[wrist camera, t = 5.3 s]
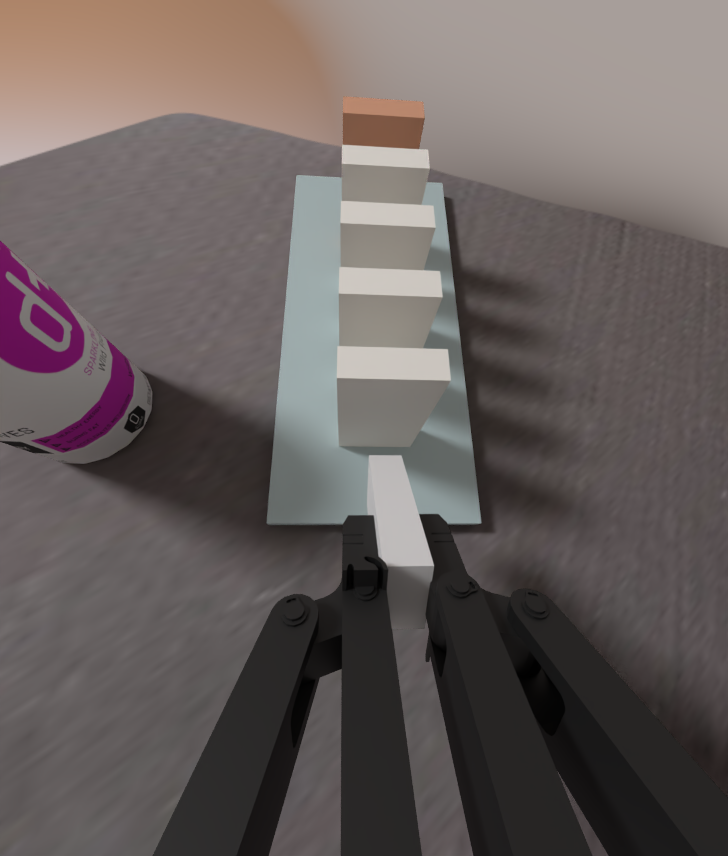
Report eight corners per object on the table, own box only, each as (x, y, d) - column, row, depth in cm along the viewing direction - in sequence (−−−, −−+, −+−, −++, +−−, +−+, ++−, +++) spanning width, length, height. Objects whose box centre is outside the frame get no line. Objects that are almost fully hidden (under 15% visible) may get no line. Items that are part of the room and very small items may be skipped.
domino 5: (339, 424, 25) (337, 346, 16) (408, 425, 25) (447, 349, 16) (338, 446, 25) (336, 378, 15) (409, 447, 25) (450, 380, 16)
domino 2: (342, 274, 30) (342, 144, 20) (401, 276, 30) (427, 149, 21) (341, 289, 29) (341, 163, 20) (401, 292, 30) (429, 168, 20)
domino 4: (340, 368, 27) (339, 267, 17) (405, 370, 27) (440, 270, 18) (339, 388, 26) (338, 293, 17) (406, 389, 26) (442, 297, 17)
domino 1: (343, 234, 31) (343, 96, 22) (399, 237, 32) (423, 101, 22) (342, 248, 31) (343, 112, 21) (399, 250, 31) (424, 118, 22)
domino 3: (341, 319, 28) (340, 200, 19) (403, 321, 29) (433, 205, 19) (341, 336, 28) (340, 222, 18) (404, 338, 28) (435, 227, 19)
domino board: (439, 195, 35) (442, 183, 34) (475, 524, 24) (481, 523, 23) (298, 187, 35) (296, 175, 34) (270, 525, 24) (266, 523, 23)
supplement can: (159, 356, 28) (-32, 147, 13) (154, 458, 25) (-92, 329, 11) (46, 367, 27) (-284, 156, 13) (28, 474, 24) (-419, 356, 10)
